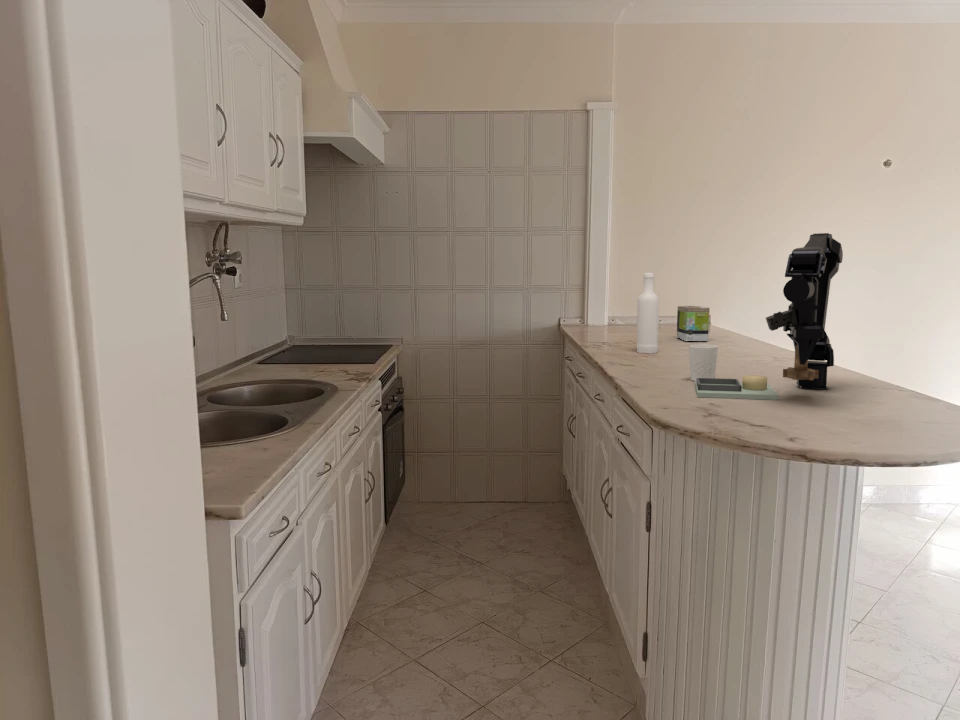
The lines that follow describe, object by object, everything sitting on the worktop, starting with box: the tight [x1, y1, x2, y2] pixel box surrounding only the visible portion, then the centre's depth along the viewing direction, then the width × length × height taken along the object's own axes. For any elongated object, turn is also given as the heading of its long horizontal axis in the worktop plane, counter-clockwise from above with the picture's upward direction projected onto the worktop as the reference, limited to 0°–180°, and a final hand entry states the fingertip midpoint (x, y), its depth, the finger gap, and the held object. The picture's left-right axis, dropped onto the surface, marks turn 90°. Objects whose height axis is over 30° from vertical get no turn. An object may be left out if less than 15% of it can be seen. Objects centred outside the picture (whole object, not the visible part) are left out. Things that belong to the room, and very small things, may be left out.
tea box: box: [676, 305, 710, 342], centre depth 297 cm, size 15×10×15 cm
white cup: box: [688, 344, 719, 382], centre depth 199 cm, size 8×8×10 cm
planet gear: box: [782, 345, 819, 381], centre depth 171 cm, size 8×7×8 cm
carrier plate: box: [694, 374, 779, 401], centre depth 180 cm, size 19×17×4 cm
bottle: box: [636, 272, 660, 354], centre depth 259 cm, size 8×8×30 cm
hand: (801, 363), depth 171 cm, fingers closed on planet gear, 3 cm apart
